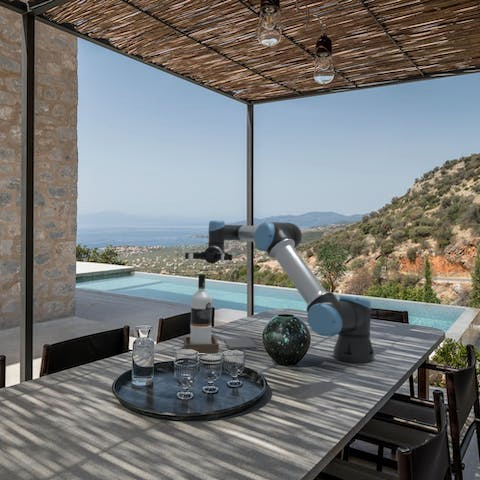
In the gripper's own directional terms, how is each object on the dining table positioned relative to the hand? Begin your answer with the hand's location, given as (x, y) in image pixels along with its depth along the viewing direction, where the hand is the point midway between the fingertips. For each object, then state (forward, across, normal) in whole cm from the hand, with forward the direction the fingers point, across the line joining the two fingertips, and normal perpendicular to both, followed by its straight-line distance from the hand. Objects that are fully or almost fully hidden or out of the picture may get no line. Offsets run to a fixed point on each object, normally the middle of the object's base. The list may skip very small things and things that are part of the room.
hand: (205, 258), depth 190 cm
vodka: (+10, 0, -36) cm, 37 cm away
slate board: (-1, -15, -36) cm, 39 cm away
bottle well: (+10, 0, -36) cm, 37 cm away
